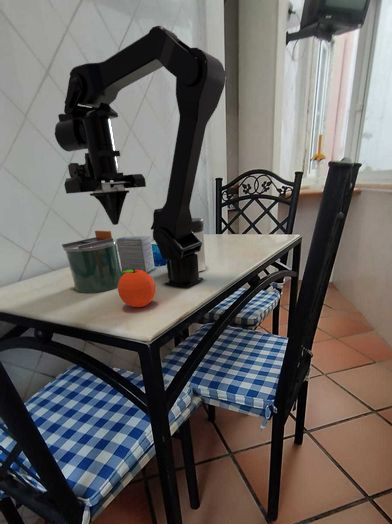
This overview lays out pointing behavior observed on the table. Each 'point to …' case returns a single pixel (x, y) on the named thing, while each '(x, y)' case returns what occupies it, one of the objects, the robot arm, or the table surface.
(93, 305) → the table surface
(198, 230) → the jar
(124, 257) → the medicine box
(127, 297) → the clementine
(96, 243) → the canister
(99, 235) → the slider
